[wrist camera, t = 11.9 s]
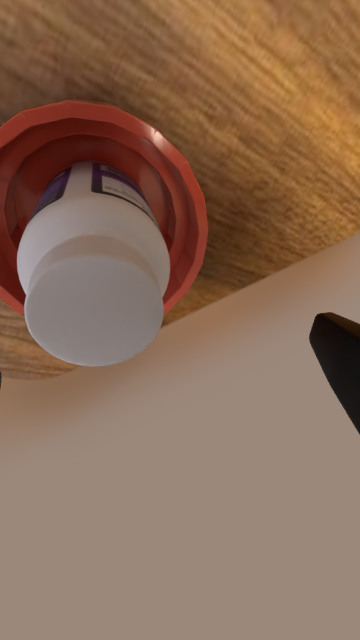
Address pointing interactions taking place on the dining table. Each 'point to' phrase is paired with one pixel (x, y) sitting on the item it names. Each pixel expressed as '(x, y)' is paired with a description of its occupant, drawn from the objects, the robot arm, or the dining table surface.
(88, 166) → the pill bottle
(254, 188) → the dining table surface
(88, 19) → the dining table surface
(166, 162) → the red bowl
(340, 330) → the robot arm
